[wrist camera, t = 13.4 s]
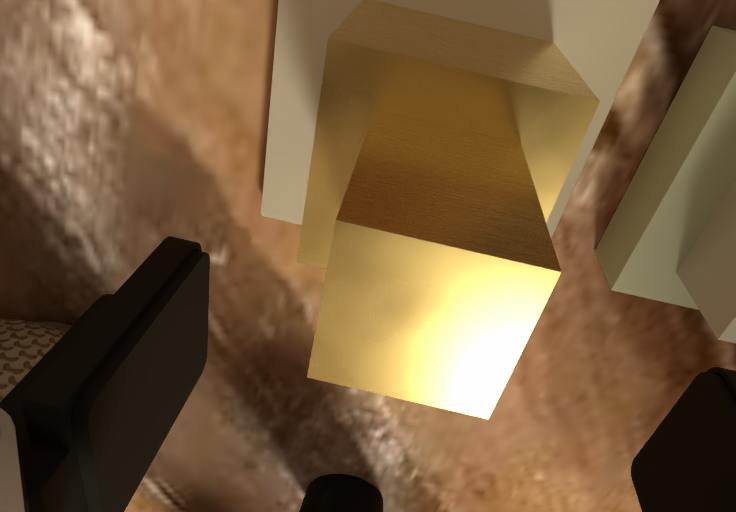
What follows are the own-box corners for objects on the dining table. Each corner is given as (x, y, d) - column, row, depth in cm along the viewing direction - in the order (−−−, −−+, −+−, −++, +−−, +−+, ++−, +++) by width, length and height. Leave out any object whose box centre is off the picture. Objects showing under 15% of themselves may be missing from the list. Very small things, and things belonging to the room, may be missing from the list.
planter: (10, 228, 28) (-257, 425, 18) (221, 372, 32) (109, 603, 22) (-67, 352, 35) (-295, 551, 24) (117, 459, 39) (-8, 669, 28)
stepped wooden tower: (553, 42, 19) (691, 217, 8) (491, 208, 23) (531, 474, 12) (364, -3, 19) (256, 117, 8) (334, 172, 23) (235, 407, 12)
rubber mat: (664, -37, 18) (675, -34, 17) (530, 265, 26) (533, 277, 25) (295, -121, 18) (288, -122, 17) (266, 205, 25) (260, 215, 25)
